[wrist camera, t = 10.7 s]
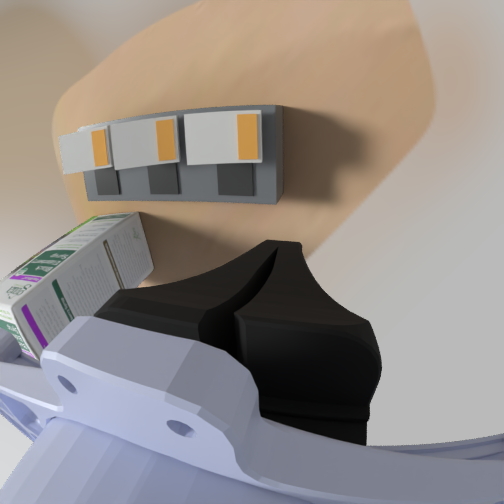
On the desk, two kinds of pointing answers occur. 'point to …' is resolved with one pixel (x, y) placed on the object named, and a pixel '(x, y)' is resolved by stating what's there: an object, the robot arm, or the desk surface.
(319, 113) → the desk surface
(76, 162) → the rocker
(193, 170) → the rocker switch panel
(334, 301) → the robot arm
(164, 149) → the block
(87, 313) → the syrup box
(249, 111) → the rocker
